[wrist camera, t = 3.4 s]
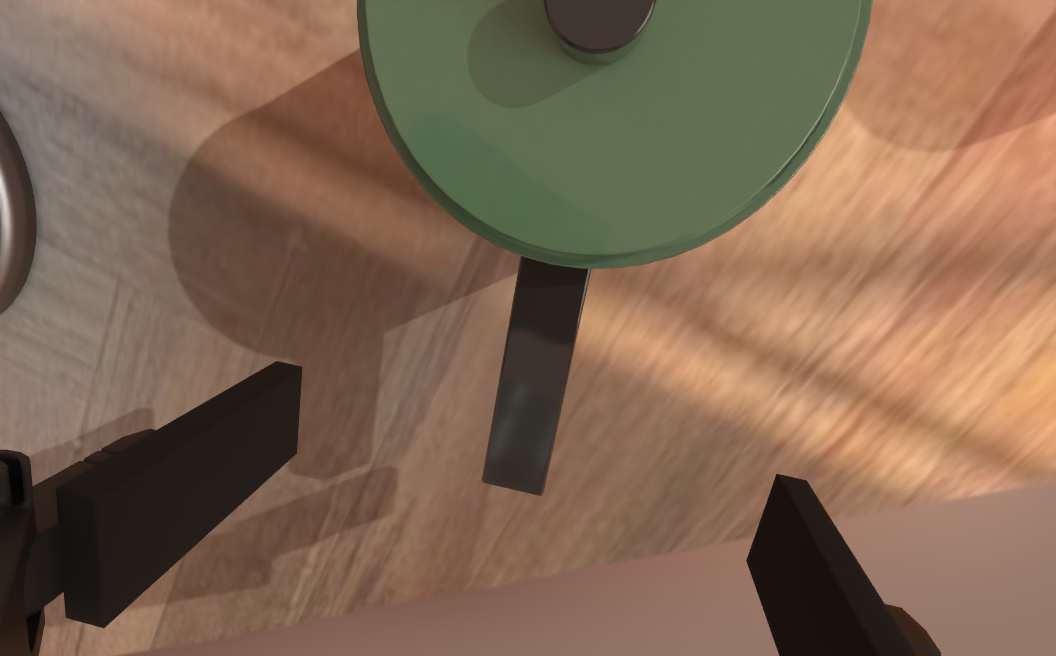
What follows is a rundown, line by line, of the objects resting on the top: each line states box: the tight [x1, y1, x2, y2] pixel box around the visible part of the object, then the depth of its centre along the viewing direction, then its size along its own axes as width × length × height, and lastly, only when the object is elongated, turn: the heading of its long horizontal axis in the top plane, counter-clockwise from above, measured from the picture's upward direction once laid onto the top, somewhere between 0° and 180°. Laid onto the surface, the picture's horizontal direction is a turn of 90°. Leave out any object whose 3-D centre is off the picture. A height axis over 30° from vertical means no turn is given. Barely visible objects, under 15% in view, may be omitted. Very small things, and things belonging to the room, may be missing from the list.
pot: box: [357, 0, 873, 496], centre depth 17 cm, size 12×19×11 cm, turn 169°
